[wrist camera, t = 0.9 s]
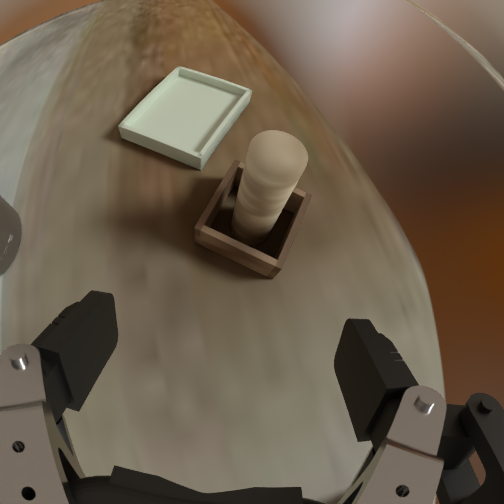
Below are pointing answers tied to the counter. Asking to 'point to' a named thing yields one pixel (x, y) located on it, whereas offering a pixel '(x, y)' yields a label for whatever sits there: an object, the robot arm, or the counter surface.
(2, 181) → the counter surface
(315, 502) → the robot arm
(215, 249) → the box
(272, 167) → the dowel
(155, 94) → the tray
